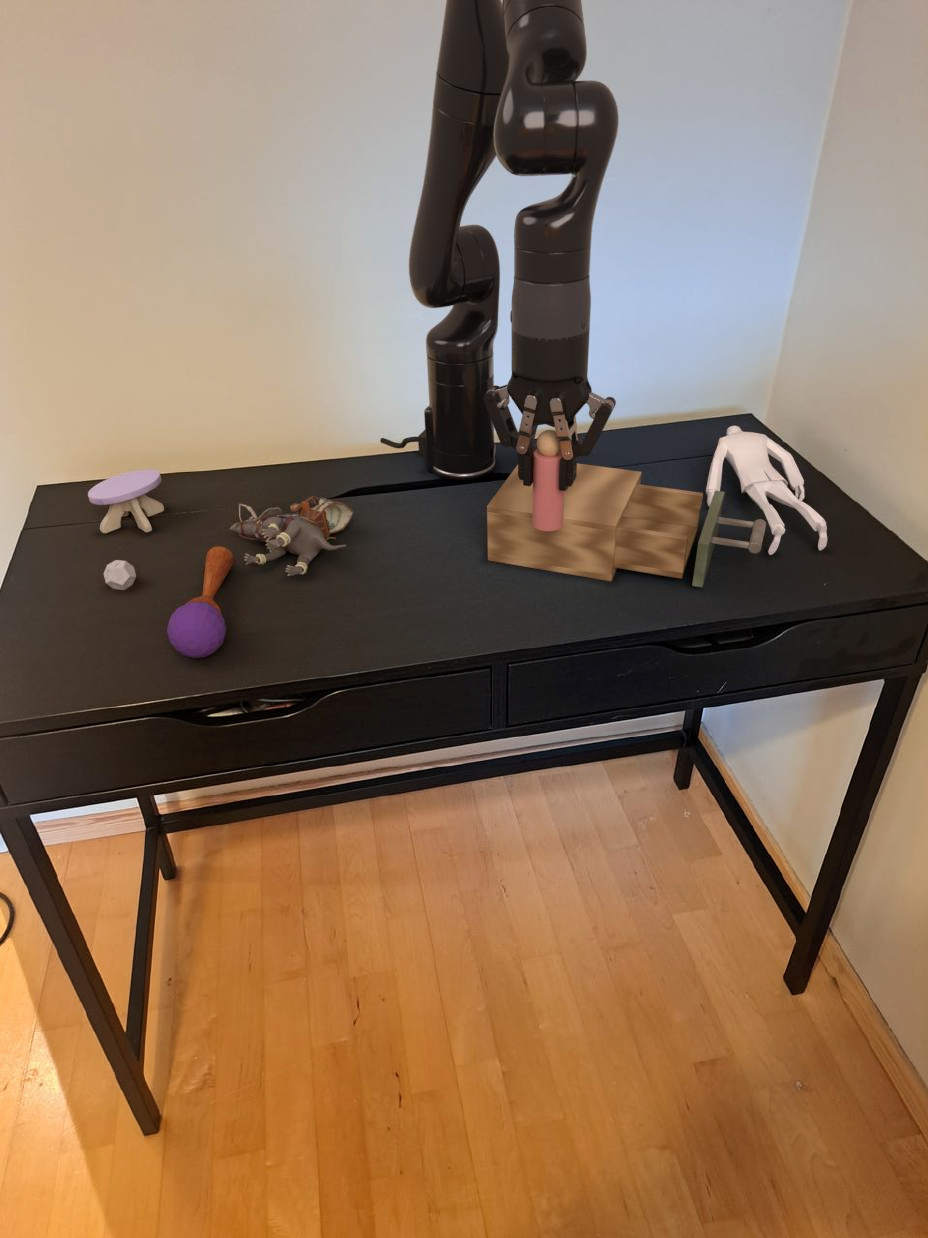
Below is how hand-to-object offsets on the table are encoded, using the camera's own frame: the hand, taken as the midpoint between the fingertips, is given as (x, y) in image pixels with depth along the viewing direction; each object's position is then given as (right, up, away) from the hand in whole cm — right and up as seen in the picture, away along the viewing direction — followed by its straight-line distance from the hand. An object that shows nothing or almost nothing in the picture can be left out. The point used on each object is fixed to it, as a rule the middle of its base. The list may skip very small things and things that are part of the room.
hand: (546, 484), depth 96 cm
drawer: (+17, -6, +14) cm, 23 cm away
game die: (-50, -10, +13) cm, 53 cm away
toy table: (-54, -1, +26) cm, 60 cm away
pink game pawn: (0, -4, +3) cm, 5 cm away
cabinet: (+4, -5, +18) cm, 19 cm away
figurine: (-30, -5, +20) cm, 36 cm away
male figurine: (+31, 0, +24) cm, 39 cm away
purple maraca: (-38, -14, +7) cm, 41 cm away
